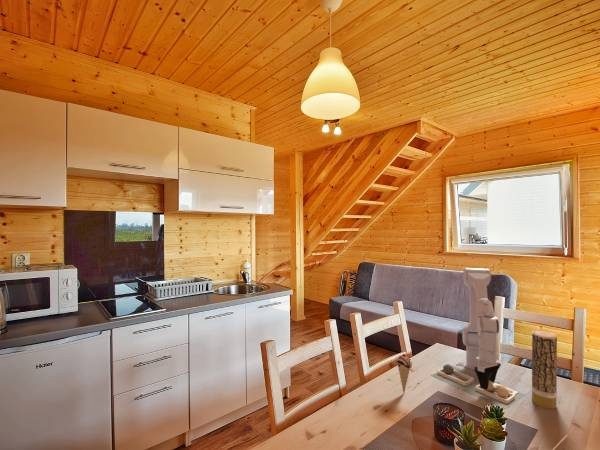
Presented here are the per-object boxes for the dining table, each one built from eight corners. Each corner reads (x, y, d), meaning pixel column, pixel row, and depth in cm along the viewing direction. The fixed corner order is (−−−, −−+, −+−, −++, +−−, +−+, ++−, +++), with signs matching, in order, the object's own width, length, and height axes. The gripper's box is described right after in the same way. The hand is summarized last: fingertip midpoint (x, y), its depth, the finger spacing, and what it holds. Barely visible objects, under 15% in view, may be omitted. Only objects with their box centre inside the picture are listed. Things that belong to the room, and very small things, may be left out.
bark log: (561, 411, 106) (561, 337, 105) (538, 409, 107) (538, 336, 107) (549, 400, 112) (549, 331, 112) (528, 398, 114) (528, 329, 113)
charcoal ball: (446, 371, 133) (446, 361, 133) (455, 375, 130) (455, 365, 130) (441, 373, 131) (441, 364, 131) (450, 377, 128) (450, 367, 128)
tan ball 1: (483, 387, 120) (483, 376, 120) (495, 391, 117) (495, 380, 117) (479, 390, 118) (479, 380, 118) (491, 395, 115) (491, 384, 115)
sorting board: (452, 366, 138) (452, 362, 138) (525, 395, 115) (525, 391, 115) (430, 376, 129) (430, 372, 129) (505, 410, 106) (505, 405, 106)
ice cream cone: (394, 395, 115) (394, 355, 115) (397, 388, 120) (397, 349, 120) (410, 399, 113) (410, 358, 113) (412, 391, 118) (413, 352, 118)
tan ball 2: (498, 392, 116) (498, 382, 116) (510, 397, 113) (510, 386, 113) (493, 396, 114) (493, 385, 114) (505, 401, 111) (505, 390, 111)
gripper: (483, 341, 125) (482, 374, 125) (468, 350, 116) (468, 387, 116) (503, 346, 120) (503, 381, 120) (490, 356, 110) (489, 395, 110)
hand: (487, 384), depth 118 cm, fingers open, 7 cm apart
